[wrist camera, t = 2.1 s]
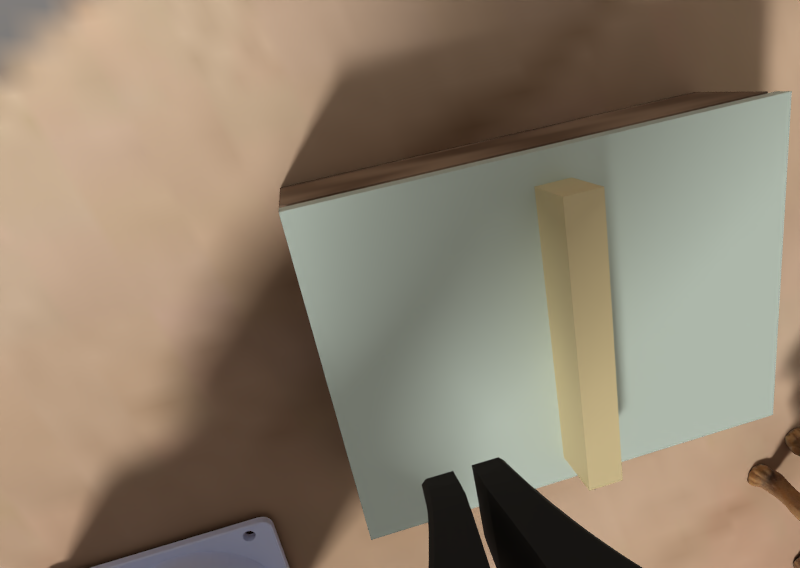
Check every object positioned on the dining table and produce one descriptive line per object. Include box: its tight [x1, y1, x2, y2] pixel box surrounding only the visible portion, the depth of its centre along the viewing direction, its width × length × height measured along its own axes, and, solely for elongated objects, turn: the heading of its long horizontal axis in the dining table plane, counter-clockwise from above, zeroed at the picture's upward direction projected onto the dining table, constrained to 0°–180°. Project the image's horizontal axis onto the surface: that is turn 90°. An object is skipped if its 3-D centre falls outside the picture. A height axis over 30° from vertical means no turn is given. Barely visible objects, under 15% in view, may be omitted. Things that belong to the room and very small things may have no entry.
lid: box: [279, 91, 792, 540], centre depth 18 cm, size 16×12×2 cm
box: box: [279, 92, 768, 208], centre depth 20 cm, size 16×12×3 cm
